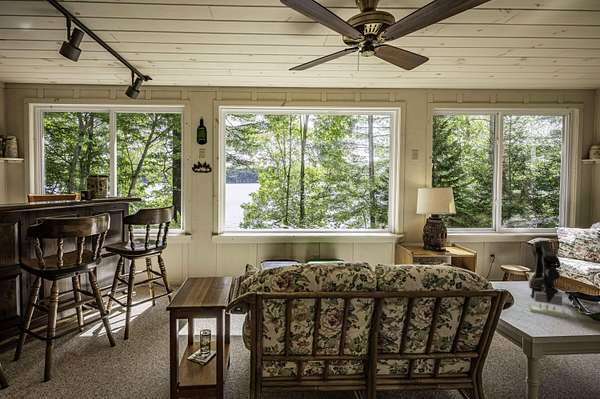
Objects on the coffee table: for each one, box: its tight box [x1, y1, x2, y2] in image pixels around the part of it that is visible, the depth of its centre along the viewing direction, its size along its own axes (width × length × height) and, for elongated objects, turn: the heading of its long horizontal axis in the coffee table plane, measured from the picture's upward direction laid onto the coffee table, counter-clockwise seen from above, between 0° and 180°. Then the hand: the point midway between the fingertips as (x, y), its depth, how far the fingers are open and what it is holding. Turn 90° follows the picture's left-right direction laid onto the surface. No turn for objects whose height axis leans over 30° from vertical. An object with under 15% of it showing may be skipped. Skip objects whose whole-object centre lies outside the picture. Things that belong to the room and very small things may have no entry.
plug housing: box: [533, 291, 563, 306], centre depth 198 cm, size 5×13×5 cm, turn 62°
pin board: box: [527, 303, 568, 319], centre depth 198 cm, size 9×18×4 cm, turn 62°
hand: (547, 300), depth 198 cm, fingers closed on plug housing, 5 cm apart
